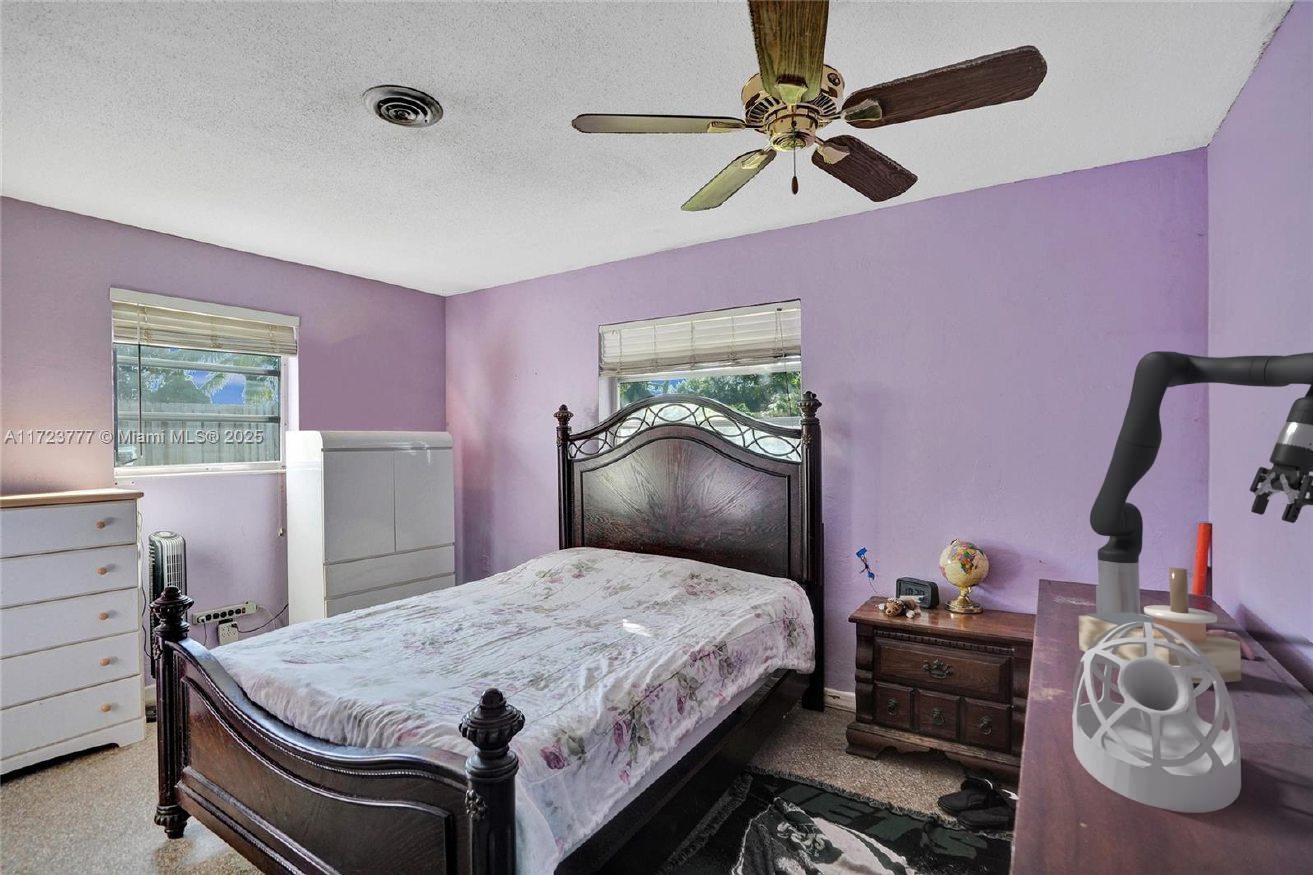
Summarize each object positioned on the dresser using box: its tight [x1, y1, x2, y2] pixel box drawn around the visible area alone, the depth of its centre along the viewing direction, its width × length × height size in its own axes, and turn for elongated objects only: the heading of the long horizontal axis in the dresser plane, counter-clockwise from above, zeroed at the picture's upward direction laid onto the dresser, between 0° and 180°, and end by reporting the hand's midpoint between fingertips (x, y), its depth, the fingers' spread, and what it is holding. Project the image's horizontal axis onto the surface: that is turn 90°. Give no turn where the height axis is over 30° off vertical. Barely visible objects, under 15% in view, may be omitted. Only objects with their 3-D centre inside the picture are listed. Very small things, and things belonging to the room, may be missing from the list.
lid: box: [1143, 567, 1218, 625], centre depth 137 cm, size 12×12×10 cm
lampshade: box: [1071, 622, 1242, 814], centre depth 95 cm, size 20×26×20 cm
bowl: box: [1154, 617, 1207, 641], centre depth 136 cm, size 8×8×4 cm
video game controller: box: [1206, 629, 1255, 661], centre depth 148 cm, size 10×5×7 cm, turn 86°
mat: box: [1085, 612, 1154, 628], centre depth 149 cm, size 12×12×1 cm
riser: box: [1078, 613, 1242, 684], centre depth 143 cm, size 24×16×8 cm, turn 6°
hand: (1272, 517), depth 141 cm, fingers open, 8 cm apart
